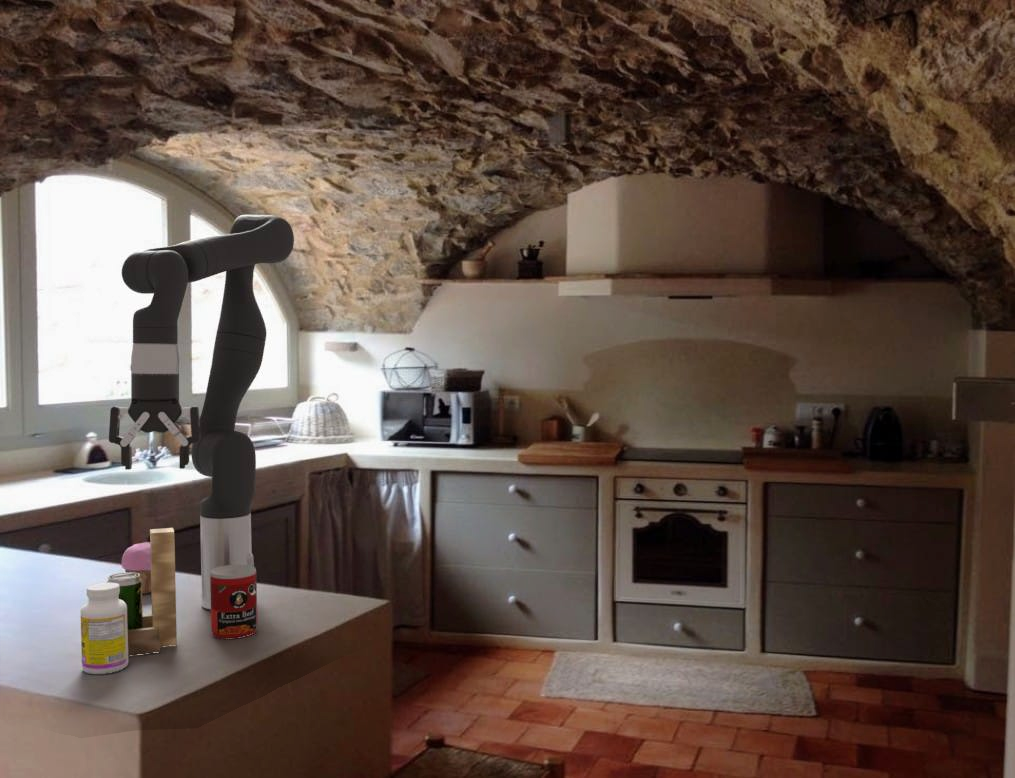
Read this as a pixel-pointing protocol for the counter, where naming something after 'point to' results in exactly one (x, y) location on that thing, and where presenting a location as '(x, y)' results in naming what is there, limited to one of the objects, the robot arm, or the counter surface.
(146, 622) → the channel
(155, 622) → the bar
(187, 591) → the counter surface
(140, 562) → the cupcake
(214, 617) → the canned food
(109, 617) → the supplement bottle
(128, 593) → the beer can
